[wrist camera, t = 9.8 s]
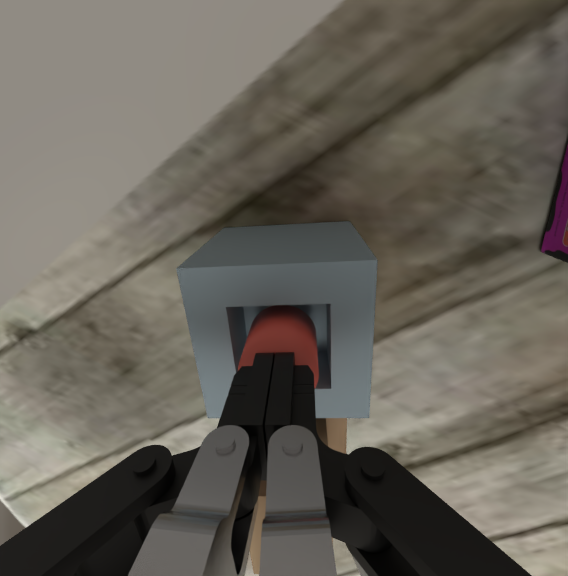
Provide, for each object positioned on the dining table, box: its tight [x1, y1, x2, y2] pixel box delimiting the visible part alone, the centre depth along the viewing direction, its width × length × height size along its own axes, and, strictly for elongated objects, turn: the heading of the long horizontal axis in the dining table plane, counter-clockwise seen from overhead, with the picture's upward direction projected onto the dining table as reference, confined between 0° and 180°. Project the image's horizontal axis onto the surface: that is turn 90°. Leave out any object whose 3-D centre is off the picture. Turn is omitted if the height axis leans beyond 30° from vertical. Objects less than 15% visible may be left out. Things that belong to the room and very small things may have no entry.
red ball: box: [238, 305, 319, 388], centre depth 14 cm, size 3×3×3 cm
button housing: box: [176, 221, 378, 418], centre depth 17 cm, size 8×8×8 cm
